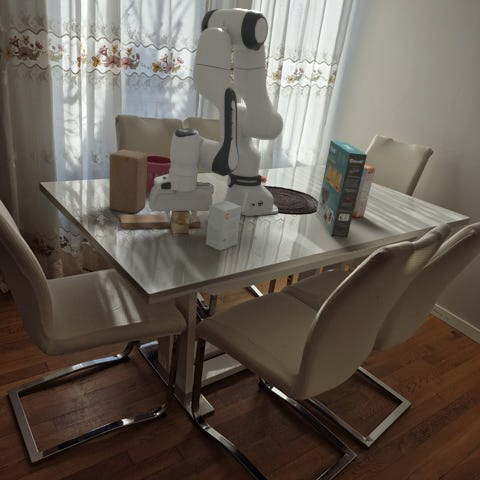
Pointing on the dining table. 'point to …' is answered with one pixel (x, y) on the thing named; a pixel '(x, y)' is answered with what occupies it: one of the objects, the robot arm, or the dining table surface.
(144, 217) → the plank
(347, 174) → the cake mix box
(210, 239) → the small box
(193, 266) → the dining table surface
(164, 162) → the plant pot
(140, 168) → the wooden block
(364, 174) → the cracker box
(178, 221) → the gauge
